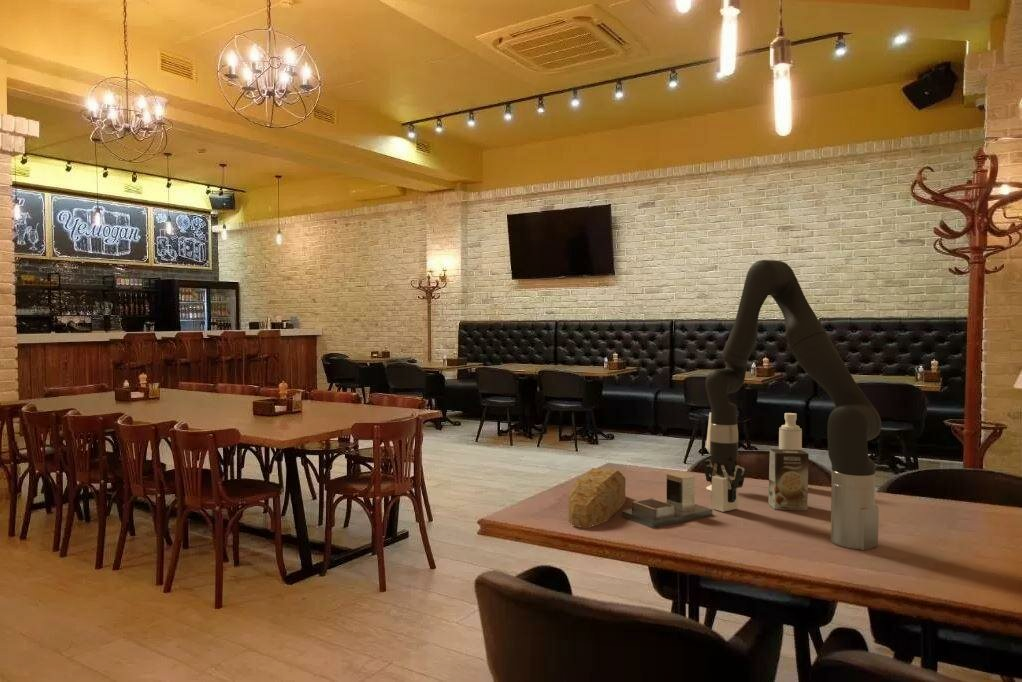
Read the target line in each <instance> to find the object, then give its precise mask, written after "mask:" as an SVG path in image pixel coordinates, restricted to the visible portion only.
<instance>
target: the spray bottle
mask: <svg viewBox="0 0 1022 682" xmlns="http://www.w3.org/2000/svg"><path fill="white" fill-rule="evenodd" d="M797 415H798V414H797V413H795V412H794V413H792V412H785V413H784V420H785V423H784V424H782V425H781V426H780V427H778V430H779V431H778V449H789V450H802V449H803V445H802V444H803V442H802V441H803V437H802V436H803V429H802V428H800V426H799V425H797V423H796V421H797V419H798V418H797ZM802 451H803V450H802Z"/></svg>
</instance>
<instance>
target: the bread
mask: <svg viewBox="0 0 1022 682" xmlns="http://www.w3.org/2000/svg"><path fill="white" fill-rule="evenodd" d="M625 503H626V478H625V476H624V475H623V473H621V472H620V471H619V470H617V469H605V468H595V467H594V468H593V467H592V469H590V470H589V471H587V472H586V473H584V474H583V475H582V476H581V477H579V478H578V479H577V480H576V481H575V482H574V483H573V484H572V486H571V487H570V489H569V491H568V523H569V522H570V523H571V524H572V525H574V526H581V527H589V526H592V525H595V526H597V525H596V524H598V525H600V524H599V523H601V522H603V521H605V520H607V521H609V520H610V519H611V518H612V517H613V516H614V515H615V514H614V513H615V512H616V513H617V511H618V510H619V509H621V507H622V506H623V505H624V504H625ZM613 514H614V515H613ZM612 515H613V516H612ZM611 516H612V517H611ZM610 517H611V518H610ZM609 518H610V519H609ZM608 519H609V520H608ZM605 522H606V521H605ZM570 523H569V524H570ZM603 523H604V522H603ZM571 524H570V525H571ZM601 524H602V523H601ZM581 527H580V528H581ZM592 527H593V526H592ZM589 528H590V527H589Z"/></svg>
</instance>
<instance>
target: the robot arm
mask: <svg viewBox="0 0 1022 682" xmlns="http://www.w3.org/2000/svg"><path fill="white" fill-rule="evenodd" d="M768 296H771V298H773V300H774V302H776V304H777V306H778V308H779V310H781V311H780V312H781V313H782V315H783V319H784V324H785V335H786V341H787V344H788V347H789V349H790V350H791V353H792V354H793V355H794V358H795V359H796V361H797V363H798V364H799V365H800V367H801V368H802V369H803V370H804V372H805V373H806V374H807V375H809V377H810V378H812V379H813V381H815V383H816V384H818V385H819V386H820V387H821V388H822V389H824V391H825V392H826V393H827V395H828V396H829V397H830V398H831V400H832V402H833V405H834V406H835V408H834V409H833V410H831V412H830V414H829V416H828V420H827V430H826V431H827V452H828V453H827V454H828V458H829V460H830V463H831V482H830V483H831V490H830V491H831V494H830V496H831V497H830V501H831V502H830V504H831V505H830V506H831V507H830V509H831V510H830V542H832V543H833V544H834V545H837V546H838V547H843V548H848V549H855V550H861V551H866V550H870V549H873V548H875V547H879V521H880V520H879V518H880V517H879V512H880V511H879V510H880V508H879V505H877V504H875V499H876V464H875V461H874V460H873V459H871V458H870V457H869V451H868V450H869V449H868V448H869V447H868V442H869V441H871V440H872V441H873V440H874V439H876V438H877V437H878V436H879V435H880V433H881V430H882V420H881V417H880V414H879V413H878V410H877V409H876V408H875V407H874V405H873V404H872V402H871V401H870V400H869V399H868V397H867V395H865V393H864V392H863V390H862V388H860V386H859V385H858V384H857V382H856V381H855V379H854V378H853V376H852V374H851V373H850V370H849V368H848V366H847V365H846V363H845V362H844V360H843V359H842V357H841V355H840V354H839V352H838V350H837V348H836V347H835V344H834V343H833V342H832V338H830V336H829V335H828V333H827V331H826V329H825V328H824V326H823V325H822V324H821V321H820V319H818V316H817V315H816V313H815V311H814V310H813V309H812V307H811V306H810V305H811V304H809V302H808V300H807V298H806V296H805V294H804V291H803V290H802V287H801V285H800V283H799V280H798V278H797V276H796V274H795V272H794V271H793V269H792V267H791V266H790V265H789V264H788V263H786V262H784V261H783V260H782V261H781V260H775V259H774V260H773V259H761V260H757V261H755V262H754V263H753V264H752V265H751V266H750V267H749V268H748V271H747V273H746V277H745V280H744V284H743V289H742V293H741V296H740V300H739V304H738V309H737V314H736V317H735V320H734V324H733V325H732V328H731V332H730V334H729V336H728V339H727V340H726V344H725V345H724V348H723V350H722V352H721V354H722V355H721V358H722V359H723V361H724V362H725V363H726V365H725V368H717V369H712V370H710V371H709V372H708V374H707V376H706V379H705V389H706V394H707V395H706V396H707V398H708V402H709V403H708V404H709V406H710V409H711V429H710V453H709V454H710V456H711V458H710V459H706V460H702V465H703V471H704V476H705V480H706V481H707V482H708V483H709V482H710V485H712V477H713V476H718V475H722V476H724V478H725V479H726V480H727V481H728V502H730V503H731V502H735V500H736V489H737V488H738V489H739V488H742V487H743V485H744V482H745V478H746V475H747V468H746V467H742V466H740V465H739V463H738V462H737V460H738V459H737V458H738V457H739V429H738V406H737V404H735V403H734V402H730V399H729V396H728V395H729V394H733V393H734V394H735V393H736V392H738V391H739V390H740V389H741V388H742V386H743V385H744V382H745V379H746V378H745V377H746V374H747V368H748V360H749V358H750V356H751V354H752V353H753V349H754V348H755V346H756V342H757V339H758V334H759V333H758V332H759V330H758V329H759V325H758V324H759V316H760V312H761V308H762V307H763V304H765V301H766V299H767V298H768ZM729 476H731V478H730V477H729ZM731 480H732V483H731Z"/></svg>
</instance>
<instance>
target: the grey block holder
mask: <svg viewBox="0 0 1022 682" xmlns="http://www.w3.org/2000/svg"><path fill="white" fill-rule="evenodd" d="M695 476H696V475H692V474H688V473H685V472H680V471H676V472H671V473H666V501H662V500H659V499H656V498H652V497H651V498H645V499H640V500H634V501H631V508H629V509H625V510H621V517H622V518H625V519H627V518H628V520H631V521H632V522H635V523H639V524H641V525H644V526H646V527H648V526H649V528H652V529H654V527H655V528H658V527H663V526H667V525H672V524H677V523H682V522H686V521H691V520H696V519H699V518H705V517H709V516H713V509H712V508H709V507H706V506H703V505H699V504H696V502H695V501H696V500H695V495H696V494H695V493H696V491H695V490H696V489H695V488H696V487H695V482H696V481H695V480H696V477H695Z"/></svg>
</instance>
